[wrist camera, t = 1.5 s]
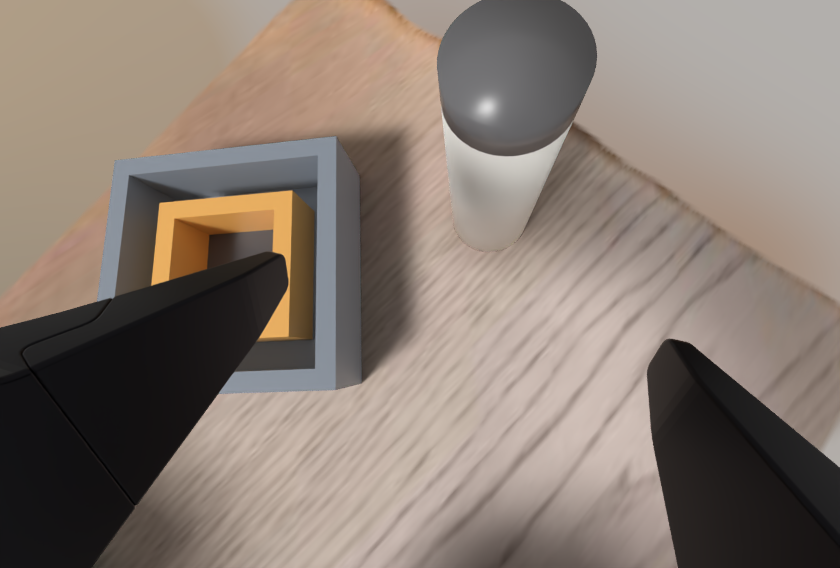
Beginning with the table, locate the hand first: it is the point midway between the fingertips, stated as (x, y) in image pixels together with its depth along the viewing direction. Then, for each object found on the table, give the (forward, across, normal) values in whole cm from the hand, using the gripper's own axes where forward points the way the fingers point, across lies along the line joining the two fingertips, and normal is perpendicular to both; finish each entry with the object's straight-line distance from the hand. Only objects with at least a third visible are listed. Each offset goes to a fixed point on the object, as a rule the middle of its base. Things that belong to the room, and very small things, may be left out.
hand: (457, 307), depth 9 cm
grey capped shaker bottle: (+14, 0, +4) cm, 15 cm away
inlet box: (+10, +13, +9) cm, 19 cm away
